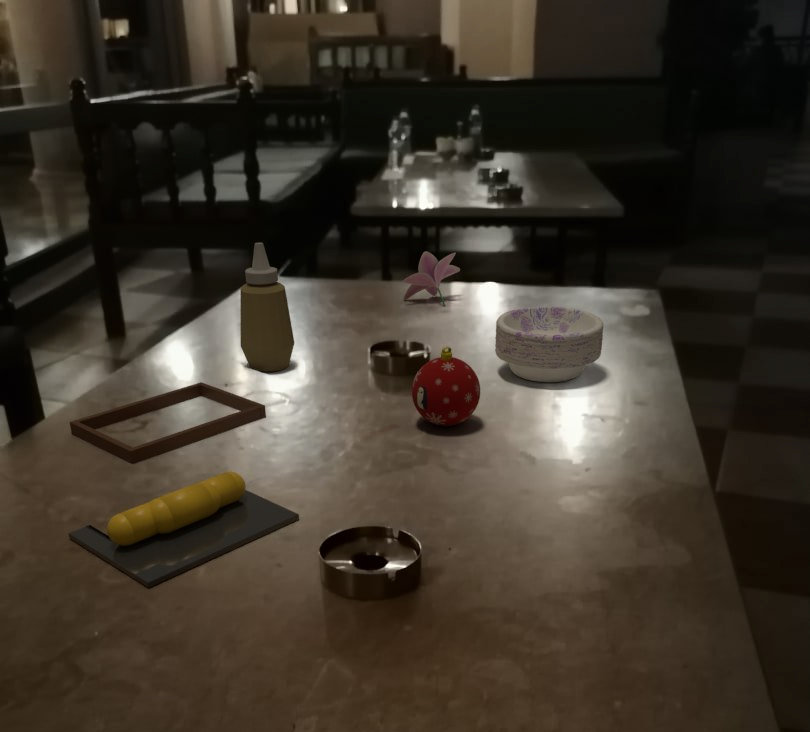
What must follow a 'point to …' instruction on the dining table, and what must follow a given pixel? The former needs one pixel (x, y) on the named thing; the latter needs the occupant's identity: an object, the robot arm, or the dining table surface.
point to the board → (189, 540)
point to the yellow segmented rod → (176, 509)
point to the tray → (246, 414)
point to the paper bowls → (548, 342)
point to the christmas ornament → (446, 390)
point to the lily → (430, 275)
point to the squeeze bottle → (265, 317)
